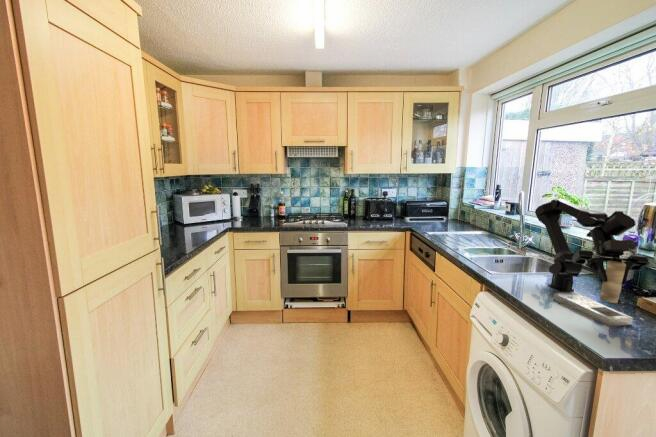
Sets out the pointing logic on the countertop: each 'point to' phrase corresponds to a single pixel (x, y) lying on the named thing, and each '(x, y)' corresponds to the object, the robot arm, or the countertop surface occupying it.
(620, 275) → the peg
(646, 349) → the countertop surface
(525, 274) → the countertop surface
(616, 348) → the countertop surface
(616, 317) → the beige slotted board
